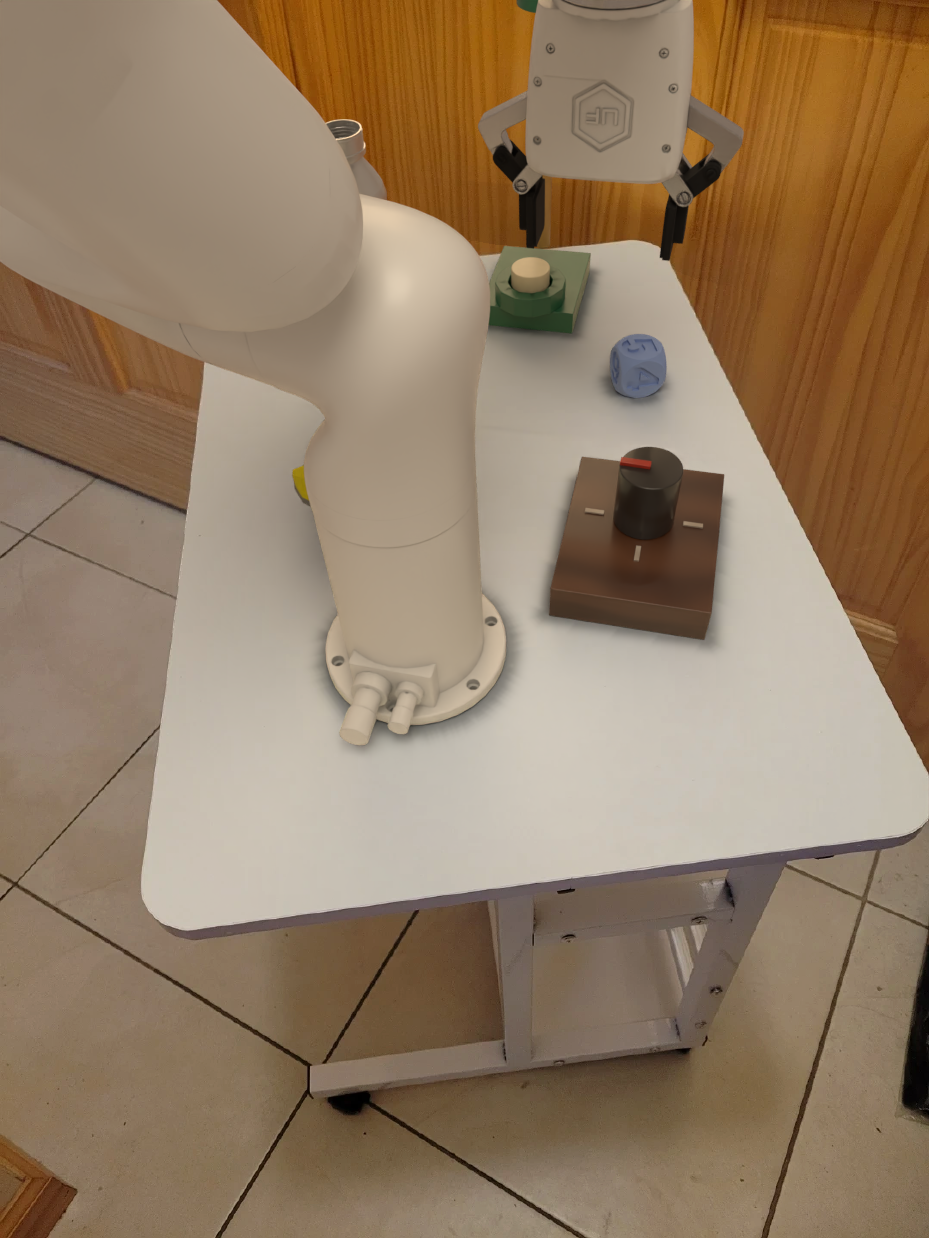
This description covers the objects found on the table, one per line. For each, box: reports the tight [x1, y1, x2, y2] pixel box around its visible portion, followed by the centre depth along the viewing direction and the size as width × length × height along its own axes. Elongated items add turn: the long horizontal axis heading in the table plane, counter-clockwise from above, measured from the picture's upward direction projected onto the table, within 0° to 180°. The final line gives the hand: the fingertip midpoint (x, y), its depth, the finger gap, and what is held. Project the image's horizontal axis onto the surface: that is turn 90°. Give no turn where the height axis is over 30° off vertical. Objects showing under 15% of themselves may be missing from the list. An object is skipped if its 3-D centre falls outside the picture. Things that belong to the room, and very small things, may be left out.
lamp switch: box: [511, 257, 550, 293], centre depth 84 cm, size 4×4×2 cm
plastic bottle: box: [325, 118, 388, 200], centre depth 78 cm, size 6×7×20 cm
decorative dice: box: [609, 333, 668, 399], centre depth 79 cm, size 4×4×4 cm
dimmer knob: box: [613, 446, 684, 540], centre depth 64 cm, size 4×4×5 cm
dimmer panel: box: [548, 456, 725, 641], centre depth 66 cm, size 14×11×3 cm
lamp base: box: [488, 245, 592, 334], centre depth 88 cm, size 12×9×4 cm
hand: (600, 244), depth 65 cm, fingers open, 9 cm apart
